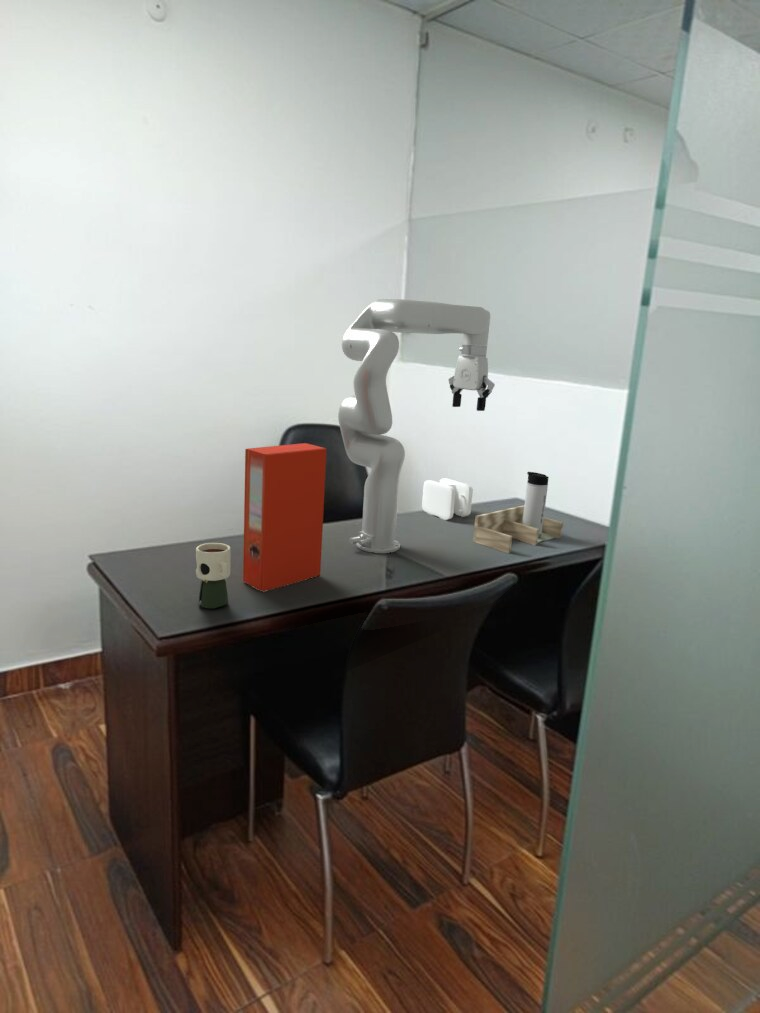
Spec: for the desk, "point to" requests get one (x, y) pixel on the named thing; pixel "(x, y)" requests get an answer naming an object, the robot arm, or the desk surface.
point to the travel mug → (535, 500)
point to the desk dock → (511, 529)
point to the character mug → (213, 573)
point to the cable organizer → (447, 498)
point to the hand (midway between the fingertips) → (468, 408)
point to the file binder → (283, 514)
